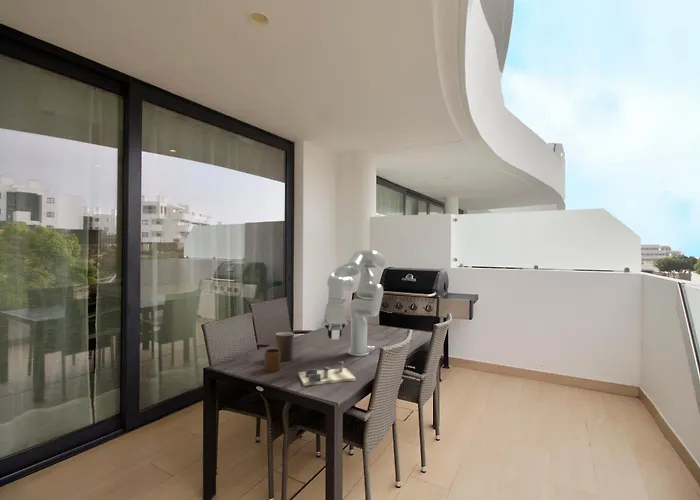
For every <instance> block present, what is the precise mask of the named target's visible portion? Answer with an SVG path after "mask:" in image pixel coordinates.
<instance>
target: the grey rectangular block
mask: <svg viewBox="0 0 700 500" xmlns="http://www.w3.org/2000/svg"><path fill="white" fill-rule="evenodd" d="M331 331H332V337H331V339H330V340H340V338H341V336H340V327H339V326H338V325H332V326H331ZM339 337H340V338H339Z"/></svg>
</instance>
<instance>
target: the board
mask: <svg viewBox="0 0 700 500" xmlns="http://www.w3.org/2000/svg"><path fill="white" fill-rule="evenodd" d="M344 363H345V362H344V361H341V360H340V361H338V365H339V367H338V368H330V367H328V366H323V369H317V368H308V369H305V371H299V372H297V377H298V378H299V380H300V381H301V383H302V385H303V386H314V385H315V386H316V385H324V384H325V385H326V384H334V383H335V384H336V383H342V382H353V381H354V382H355V381H356V380H357V378H356V377H355V376H354V374H353V373H352V372H351V371H350V370H349V369H348V368H347V367H343V365H344Z"/></svg>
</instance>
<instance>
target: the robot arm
mask: <svg viewBox="0 0 700 500" xmlns="http://www.w3.org/2000/svg"><path fill="white" fill-rule="evenodd" d="M385 265H386V257H385V256H384V255H383V254H382V253H380V252H378V251H377V250H374V249H373V250H370V249H369V250H367V249H361V250H356V252H354V254H353V255H352V256H351V257H350V260H348V262H347V263H345V264H342V265H340V266H338V267H336V268H335V269H334V270H333V271H332V272H331V273H330V275H329V276H328V278H327V280H326V281H327V283H326V284H327V287H328V297H327V298H328V299H327V303H326V304H325V310H324V318H323V320H322V322H321V325H322V326H323V327H325V328H326V329H327V336H328V339H330V340H332V339H331V337H332V331H331V326H333V325H337V326H339V327H340V337H339V339H341V337H342V331H343V329H344V328H345V327H346V326H347V325H349V322H348V320H347V318H346V308H345V307H346V306H345V304H344V302H347V301H346V300H347V299H346V298H344V291H351V290H352V289H353V288H354V287H355V279H353V276H356V275H359V274H360V278H359V282H358V285H357V289H356V296H357V297H358V298H354V299H352V300H351V301H350V302H349V313H350V348H349V349H348V350H347V354H348V355H350V356H353V357H354V356H356V357H365V356H369V355H370V350H375V349H376V348H375V346H374V345H368V321H367V319H366V317H371V318H372V317H373V318H374V317H377V316H378V314H379V313H380V309H381V305H382V303H383V302H382V301H383V297H384V286H383V285H382V284H380V283H377V282H376V283H375V282H374V281H375V275H374V273H373V272H372V270H371V269H383V268H384V267H385Z"/></svg>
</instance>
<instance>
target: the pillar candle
mask: <svg viewBox="0 0 700 500" xmlns="http://www.w3.org/2000/svg"><path fill="white" fill-rule="evenodd" d="M274 347H275V348H279V350H280V363H281V362H290V361H293V359H294V332H290V331H283V332H282V331H281V332H276V333H275V346H274ZM275 348H274V349H275Z"/></svg>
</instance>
